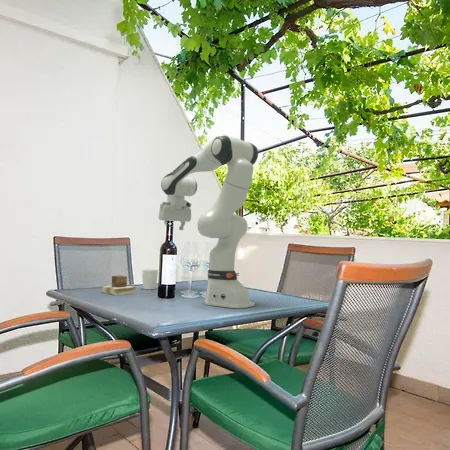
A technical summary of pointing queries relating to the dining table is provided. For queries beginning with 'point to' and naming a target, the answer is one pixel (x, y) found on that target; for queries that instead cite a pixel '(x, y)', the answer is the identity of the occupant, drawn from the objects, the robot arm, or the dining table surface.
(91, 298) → the dining table surface
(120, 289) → the birch plinth
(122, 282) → the walnut cube
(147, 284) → the white cup
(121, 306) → the dining table surface
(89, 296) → the dining table surface
